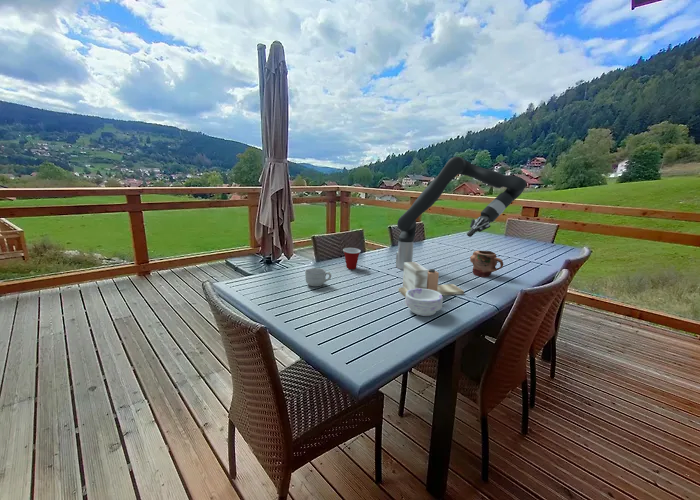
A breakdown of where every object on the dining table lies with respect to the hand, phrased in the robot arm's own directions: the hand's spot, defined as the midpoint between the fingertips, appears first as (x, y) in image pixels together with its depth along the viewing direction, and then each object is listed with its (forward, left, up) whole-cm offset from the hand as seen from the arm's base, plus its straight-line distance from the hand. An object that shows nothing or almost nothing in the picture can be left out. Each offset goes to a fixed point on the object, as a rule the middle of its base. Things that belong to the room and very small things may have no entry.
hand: (468, 235), depth 148 cm
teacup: (-54, -53, -27) cm, 80 cm away
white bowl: (+1, -41, -27) cm, 49 cm away
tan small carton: (-8, -19, -26) cm, 33 cm away
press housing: (-8, -19, -27) cm, 34 cm away
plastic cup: (-63, -19, -27) cm, 71 cm away
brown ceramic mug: (0, +28, -27) cm, 39 cm away
